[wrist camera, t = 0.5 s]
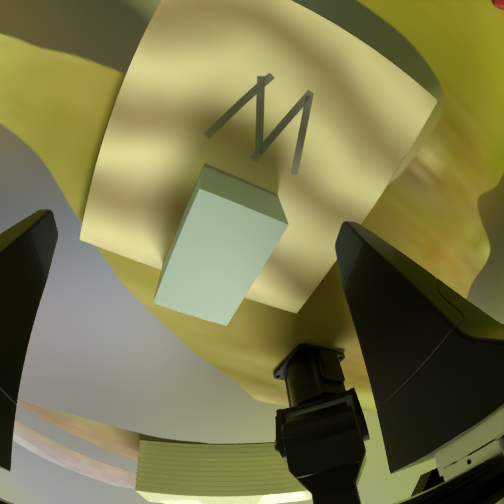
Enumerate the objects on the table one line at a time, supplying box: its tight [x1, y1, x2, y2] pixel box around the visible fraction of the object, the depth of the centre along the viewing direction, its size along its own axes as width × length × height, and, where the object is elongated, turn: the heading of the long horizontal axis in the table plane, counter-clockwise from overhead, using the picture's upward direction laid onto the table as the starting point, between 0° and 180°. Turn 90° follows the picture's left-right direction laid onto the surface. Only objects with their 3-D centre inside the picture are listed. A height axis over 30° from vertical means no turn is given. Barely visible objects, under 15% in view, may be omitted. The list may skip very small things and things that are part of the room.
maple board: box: [80, 0, 437, 314], centre depth 21 cm, size 22×20×2 cm
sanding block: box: [153, 164, 289, 326], centre depth 21 cm, size 9×6×4 cm, turn 154°
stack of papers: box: [135, 440, 312, 504], centre depth 47 cm, size 32×11×11 cm, turn 86°
